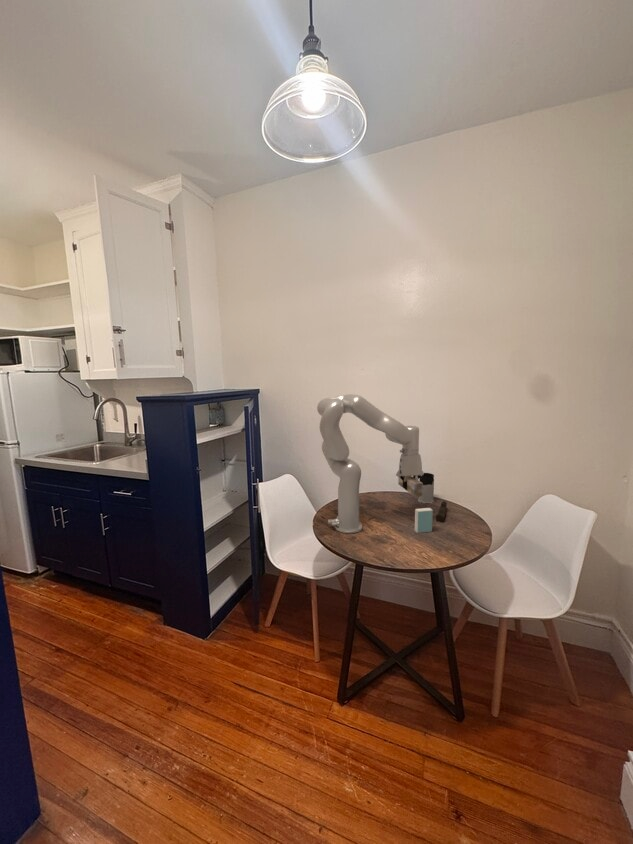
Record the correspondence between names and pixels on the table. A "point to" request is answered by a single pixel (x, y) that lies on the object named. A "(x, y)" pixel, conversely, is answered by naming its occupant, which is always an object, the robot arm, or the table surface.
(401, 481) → the grey-capped beige stick
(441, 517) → the hand tool
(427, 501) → the glass holder
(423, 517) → the white and teal block
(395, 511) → the table surface
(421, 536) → the table surface
